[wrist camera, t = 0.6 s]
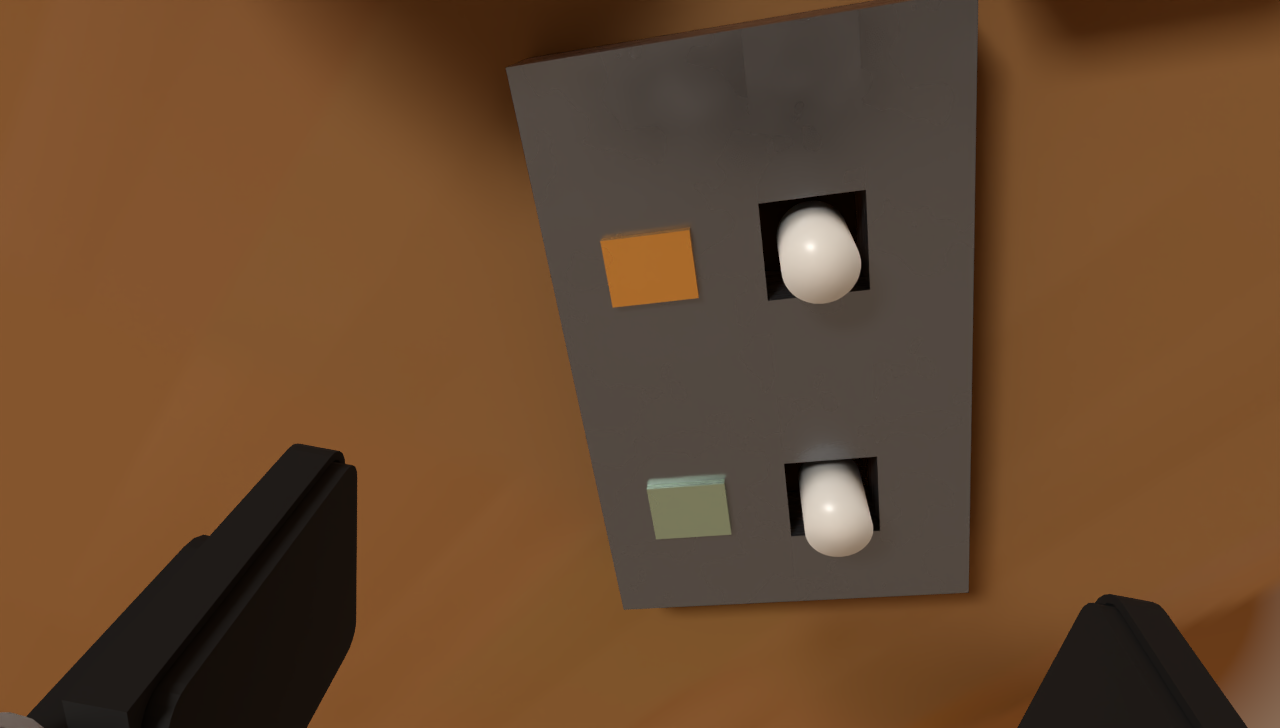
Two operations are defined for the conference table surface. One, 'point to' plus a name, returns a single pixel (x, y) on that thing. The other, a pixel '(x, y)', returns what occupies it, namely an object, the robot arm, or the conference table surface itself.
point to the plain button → (834, 507)
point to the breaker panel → (765, 292)
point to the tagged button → (817, 253)
